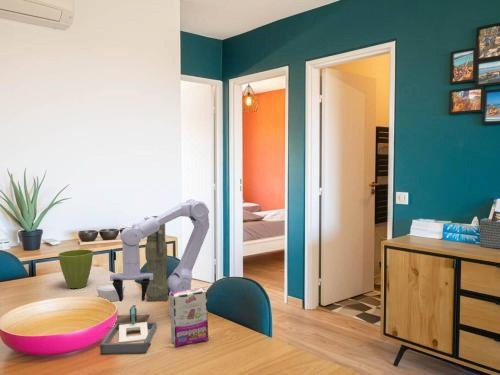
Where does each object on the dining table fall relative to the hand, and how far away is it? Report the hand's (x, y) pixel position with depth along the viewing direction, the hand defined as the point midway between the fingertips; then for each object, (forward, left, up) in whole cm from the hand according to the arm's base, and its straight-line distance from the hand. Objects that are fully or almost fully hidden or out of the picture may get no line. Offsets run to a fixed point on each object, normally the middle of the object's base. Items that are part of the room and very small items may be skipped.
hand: (132, 300), depth 150 cm
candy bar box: (-21, +14, -10) cm, 27 cm away
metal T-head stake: (+1, -3, -8) cm, 9 cm away
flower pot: (+38, -49, -10) cm, 63 cm away
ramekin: (+17, -31, -10) cm, 37 cm away
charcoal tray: (-2, +13, -9) cm, 16 cm away
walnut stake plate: (+3, -2, -9) cm, 10 cm away
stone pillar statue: (-3, -28, -10) cm, 30 cm away
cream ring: (-2, +9, -7) cm, 12 cm away
